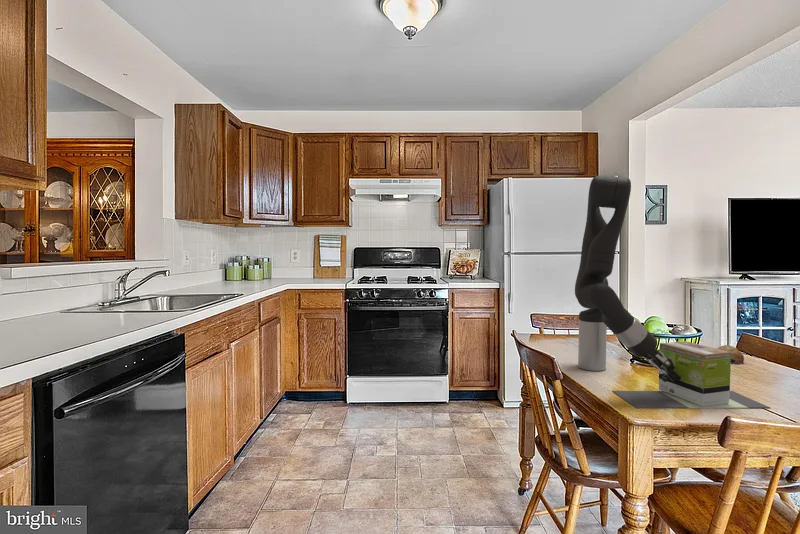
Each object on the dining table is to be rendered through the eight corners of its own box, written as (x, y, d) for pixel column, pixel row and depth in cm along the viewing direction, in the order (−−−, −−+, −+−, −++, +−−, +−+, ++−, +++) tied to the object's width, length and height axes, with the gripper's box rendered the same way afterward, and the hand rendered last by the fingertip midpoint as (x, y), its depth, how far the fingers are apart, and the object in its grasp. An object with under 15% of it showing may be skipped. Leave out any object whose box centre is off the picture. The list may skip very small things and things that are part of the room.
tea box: (656, 390, 136) (658, 341, 135) (683, 387, 139) (684, 340, 138) (702, 407, 122) (704, 353, 121) (731, 404, 124) (732, 350, 124)
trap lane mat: (612, 391, 136) (612, 390, 136) (732, 391, 136) (732, 391, 136) (636, 408, 122) (636, 407, 122) (770, 408, 122) (770, 407, 122)
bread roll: (714, 371, 172) (718, 354, 168) (706, 354, 180) (709, 338, 177) (745, 373, 169) (749, 356, 165) (735, 356, 178) (739, 339, 174)
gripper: (657, 331, 121) (701, 377, 122) (632, 323, 135) (672, 364, 135) (637, 351, 122) (681, 396, 122) (614, 341, 135) (654, 382, 135)
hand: (676, 379), depth 129 cm, fingers closed
